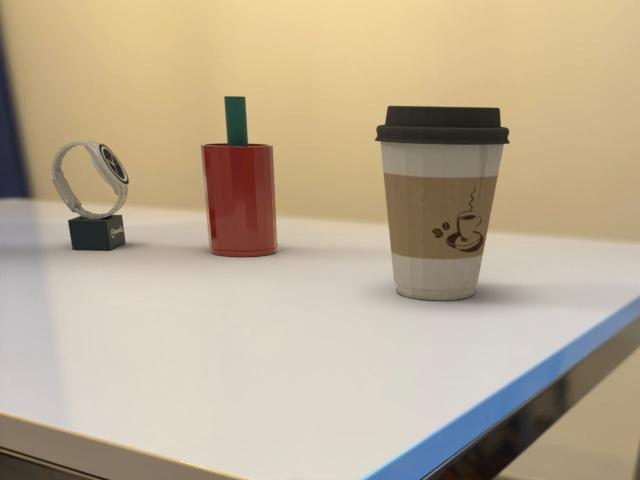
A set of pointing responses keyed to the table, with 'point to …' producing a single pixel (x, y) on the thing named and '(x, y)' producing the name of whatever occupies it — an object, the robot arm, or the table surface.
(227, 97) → the straw
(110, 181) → the watch
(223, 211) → the can
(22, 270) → the table surface
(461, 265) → the coffee cup
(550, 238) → the table surface
